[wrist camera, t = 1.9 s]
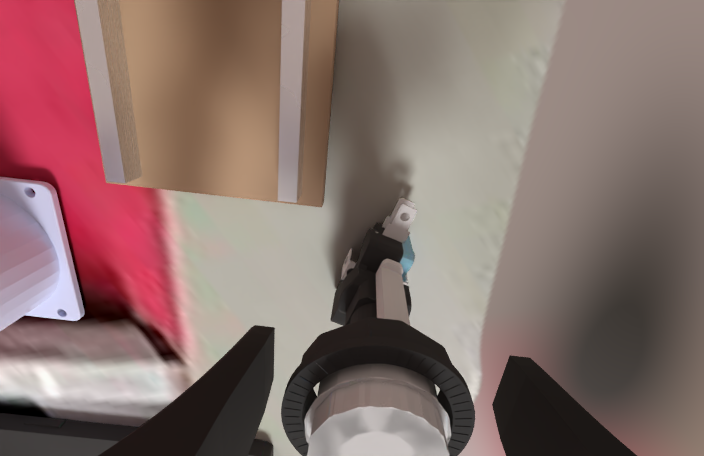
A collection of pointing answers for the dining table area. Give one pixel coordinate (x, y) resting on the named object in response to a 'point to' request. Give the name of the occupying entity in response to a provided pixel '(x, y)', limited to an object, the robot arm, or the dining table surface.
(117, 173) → the white guide rails
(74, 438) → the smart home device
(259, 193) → the mounting board
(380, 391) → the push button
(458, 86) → the dining table surface
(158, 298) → the dining table surface
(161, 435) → the robot arm
